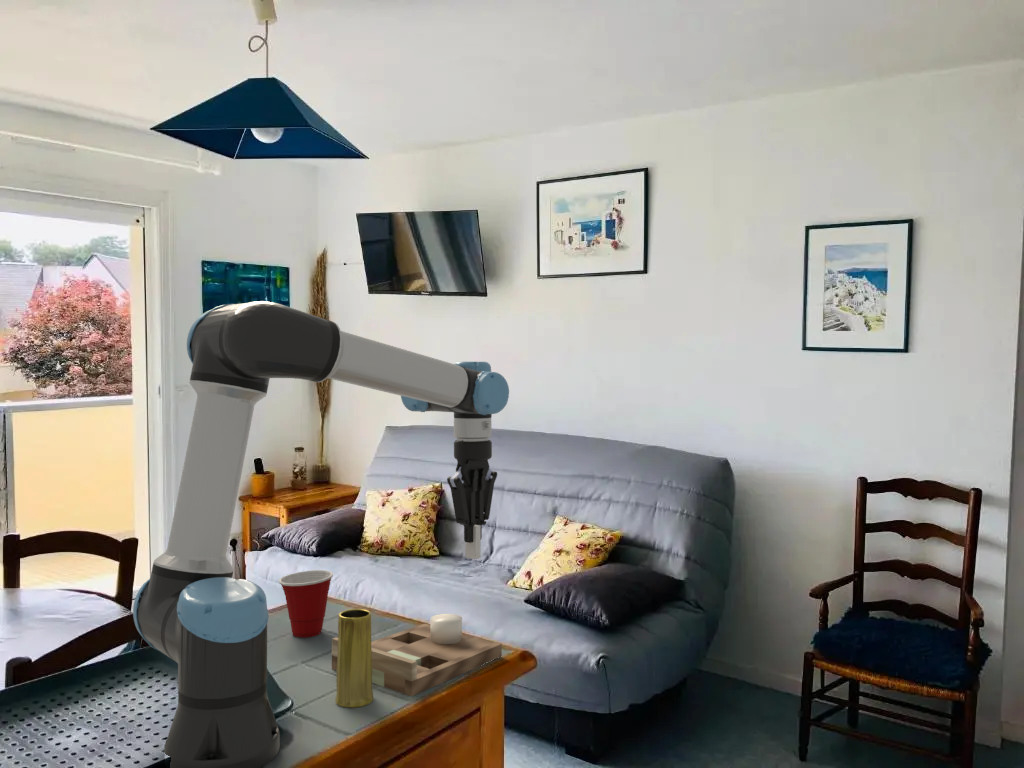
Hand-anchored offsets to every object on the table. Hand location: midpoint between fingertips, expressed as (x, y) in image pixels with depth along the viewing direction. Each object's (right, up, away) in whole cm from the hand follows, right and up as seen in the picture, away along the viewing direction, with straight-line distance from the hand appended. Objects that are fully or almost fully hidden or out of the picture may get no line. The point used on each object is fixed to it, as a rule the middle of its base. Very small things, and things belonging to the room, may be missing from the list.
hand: (472, 557), depth 162 cm
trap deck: (-9, -17, -12) cm, 23 cm away
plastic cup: (-34, -17, +5) cm, 39 cm away
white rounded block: (-5, -14, -6) cm, 16 cm away
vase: (-18, -17, -29) cm, 38 cm away
